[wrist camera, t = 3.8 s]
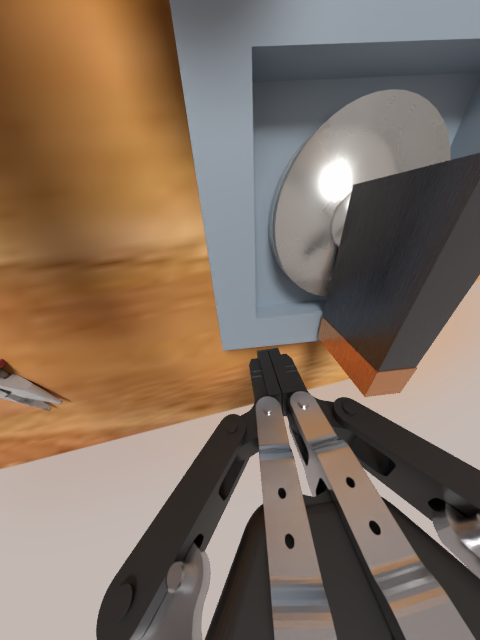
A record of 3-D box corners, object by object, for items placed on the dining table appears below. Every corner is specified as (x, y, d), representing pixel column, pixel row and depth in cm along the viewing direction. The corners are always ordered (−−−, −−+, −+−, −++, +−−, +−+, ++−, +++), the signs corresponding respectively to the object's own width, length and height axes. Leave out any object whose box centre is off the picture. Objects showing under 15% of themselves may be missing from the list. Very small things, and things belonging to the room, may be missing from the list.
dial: (270, 116, 11) (404, -170, 3) (449, 107, 11) (1002, -162, 3) (266, 327, 19) (295, 404, 11) (367, 317, 20) (465, 384, 12)
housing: (172, -18, 9) (149, -128, 6) (573, -26, 9) (717, -126, 7) (223, 333, 20) (222, 352, 17) (400, 315, 21) (427, 330, 18)
